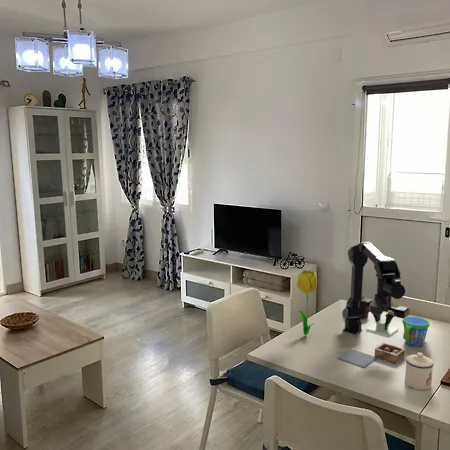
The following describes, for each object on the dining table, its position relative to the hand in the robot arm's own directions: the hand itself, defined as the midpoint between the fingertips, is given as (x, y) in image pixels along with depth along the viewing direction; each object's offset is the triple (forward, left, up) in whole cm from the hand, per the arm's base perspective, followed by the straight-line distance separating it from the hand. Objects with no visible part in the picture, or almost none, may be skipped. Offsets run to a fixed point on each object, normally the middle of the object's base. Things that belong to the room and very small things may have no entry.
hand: (382, 328), depth 183 cm
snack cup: (+5, +23, -13) cm, 27 cm away
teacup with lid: (+19, -9, -13) cm, 24 cm away
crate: (+3, +3, -12) cm, 13 cm away
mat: (-6, -7, -12) cm, 16 cm away
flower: (-33, -3, -13) cm, 36 cm away
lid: (0, 0, -1) cm, 1 cm away
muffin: (-28, +36, -13) cm, 48 cm away
